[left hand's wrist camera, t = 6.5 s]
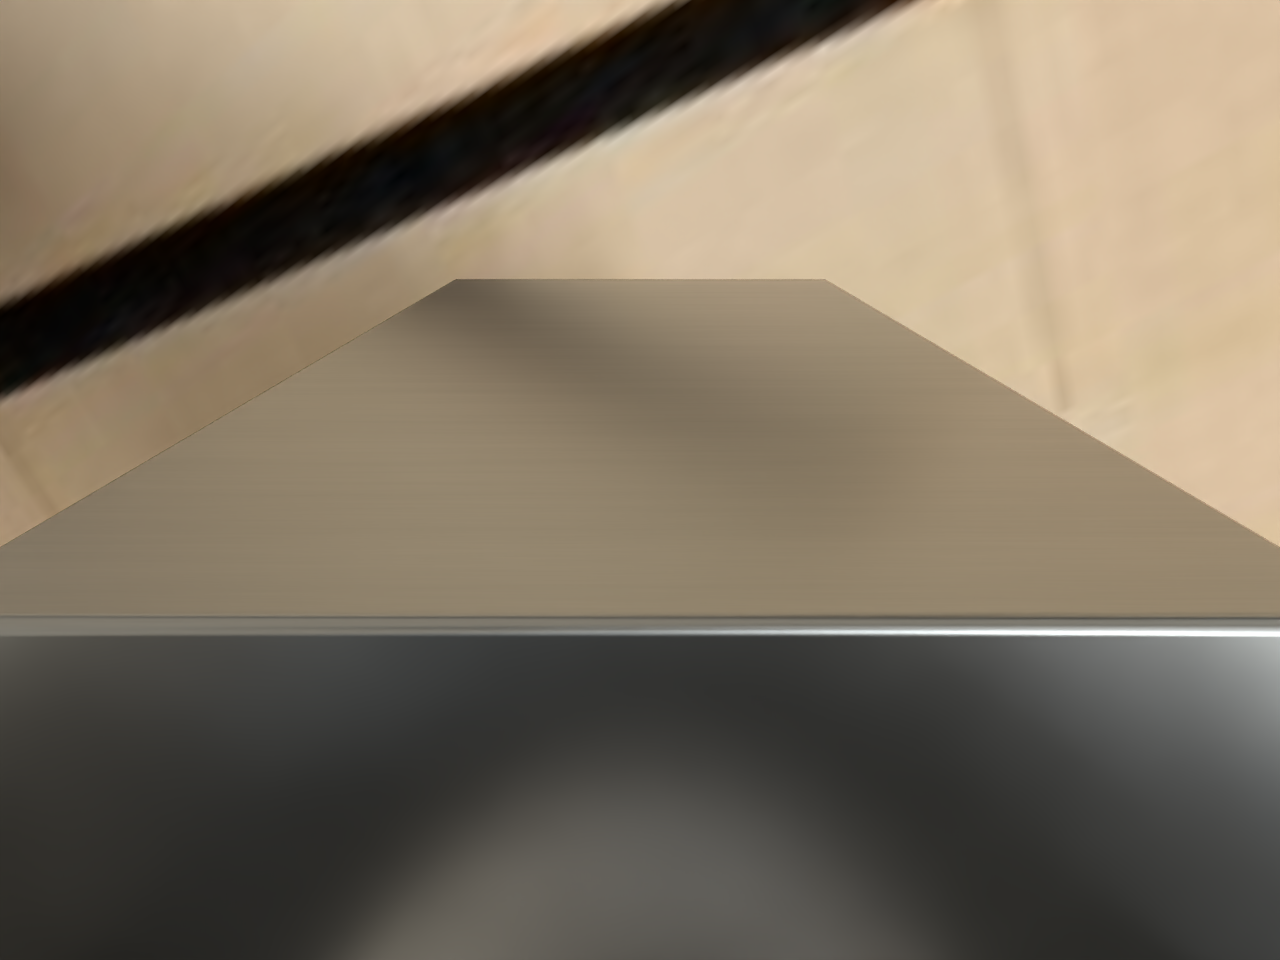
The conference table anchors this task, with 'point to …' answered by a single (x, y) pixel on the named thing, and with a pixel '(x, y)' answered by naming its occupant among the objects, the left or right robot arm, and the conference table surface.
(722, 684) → the box
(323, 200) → the conference table surface
